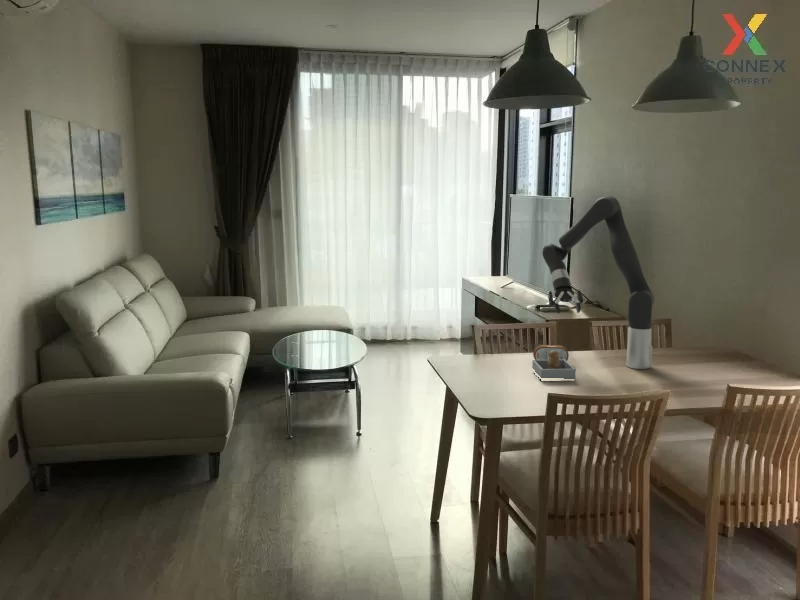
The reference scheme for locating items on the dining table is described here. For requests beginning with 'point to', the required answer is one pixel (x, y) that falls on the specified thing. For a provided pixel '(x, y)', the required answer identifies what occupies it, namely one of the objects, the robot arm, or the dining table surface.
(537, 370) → the bin
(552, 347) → the tin
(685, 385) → the dining table surface
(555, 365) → the pepper mill
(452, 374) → the dining table surface
